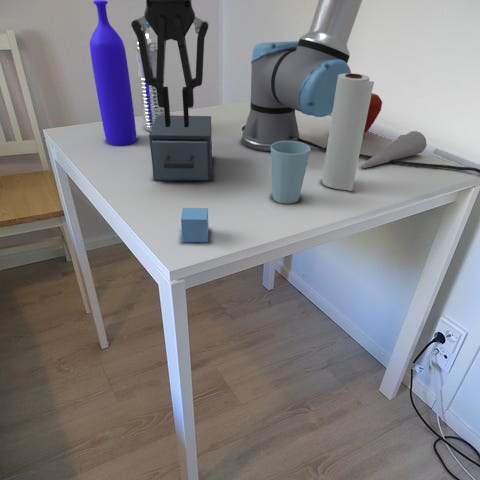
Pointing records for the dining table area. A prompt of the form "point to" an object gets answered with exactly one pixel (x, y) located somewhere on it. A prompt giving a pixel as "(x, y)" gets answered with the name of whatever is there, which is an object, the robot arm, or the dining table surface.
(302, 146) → the cup
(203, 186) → the dining table surface
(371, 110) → the apple
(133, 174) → the dining table surface
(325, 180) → the paper towel roll
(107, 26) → the bottle
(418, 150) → the long tapered cone
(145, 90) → the water bottle
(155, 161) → the drawer
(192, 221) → the steel blue cube
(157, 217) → the dining table surface
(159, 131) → the cabinet
